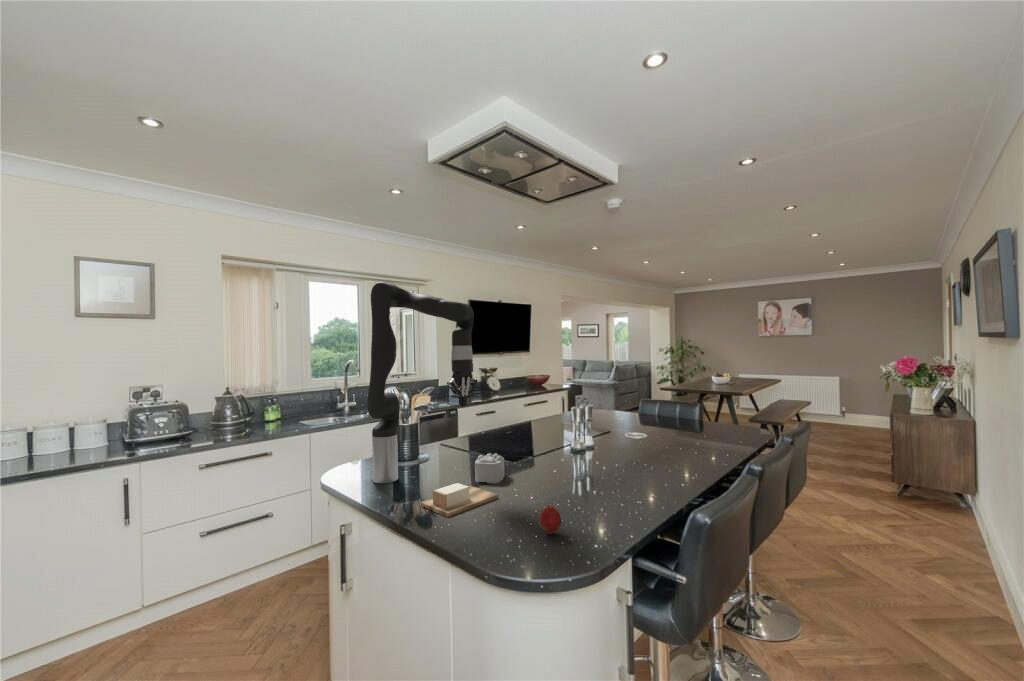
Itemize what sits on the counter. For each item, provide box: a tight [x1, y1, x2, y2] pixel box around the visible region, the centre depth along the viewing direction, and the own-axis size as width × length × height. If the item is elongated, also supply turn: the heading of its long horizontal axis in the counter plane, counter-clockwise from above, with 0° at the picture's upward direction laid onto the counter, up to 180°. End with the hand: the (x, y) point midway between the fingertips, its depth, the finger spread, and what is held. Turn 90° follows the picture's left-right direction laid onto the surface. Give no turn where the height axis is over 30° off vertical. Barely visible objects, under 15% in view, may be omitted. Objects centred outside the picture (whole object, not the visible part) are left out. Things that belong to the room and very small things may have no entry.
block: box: [432, 482, 470, 508], centre depth 138 cm, size 6×4×10 cm
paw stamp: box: [474, 452, 505, 484], centre depth 166 cm, size 10×13×9 cm
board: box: [419, 485, 499, 518], centre depth 141 cm, size 14×21×1 cm, turn 137°
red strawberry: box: [538, 503, 562, 535], centre depth 116 cm, size 6×6×8 cm
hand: (463, 406), depth 155 cm, fingers closed
